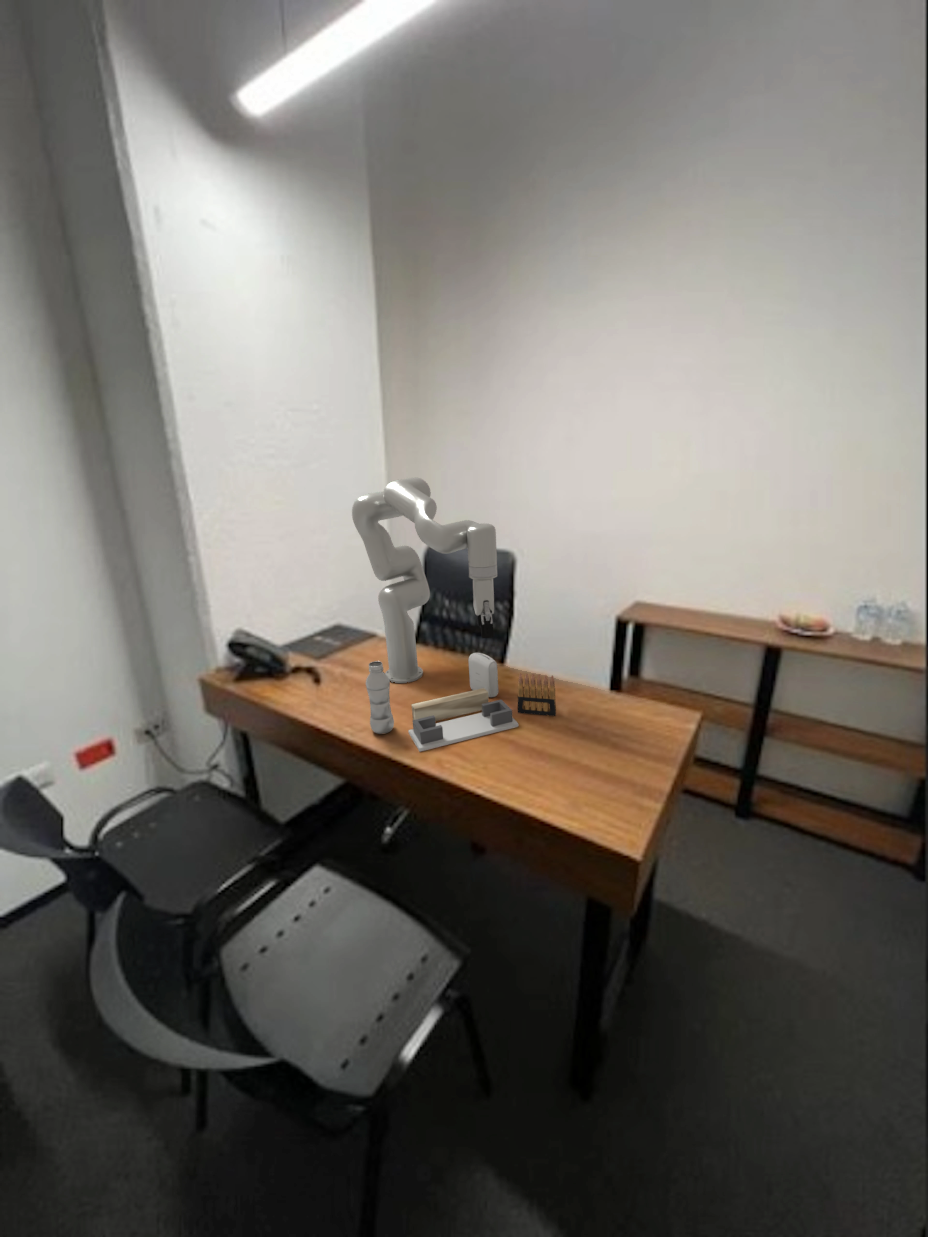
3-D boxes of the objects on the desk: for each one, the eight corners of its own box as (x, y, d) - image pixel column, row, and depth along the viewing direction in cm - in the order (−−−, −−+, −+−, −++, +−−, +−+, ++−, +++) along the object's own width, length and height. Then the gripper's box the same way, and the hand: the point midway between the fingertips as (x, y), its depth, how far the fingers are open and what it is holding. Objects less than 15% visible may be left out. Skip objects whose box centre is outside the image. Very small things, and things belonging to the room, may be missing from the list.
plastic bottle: (389, 722, 159) (382, 656, 153) (398, 732, 154) (391, 665, 147) (367, 729, 156) (359, 662, 150) (376, 739, 151) (368, 671, 144)
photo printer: (467, 688, 177) (465, 652, 173) (478, 684, 179) (476, 648, 175) (490, 699, 169) (488, 661, 165) (500, 694, 172) (499, 657, 168)
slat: (413, 721, 159) (411, 704, 158) (484, 704, 167) (483, 687, 165) (416, 726, 157) (414, 709, 155) (488, 709, 164) (488, 692, 162)
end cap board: (408, 733, 153) (407, 718, 152) (502, 710, 162) (502, 696, 161) (419, 751, 144) (418, 736, 143) (518, 726, 153) (518, 711, 152)
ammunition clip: (517, 712, 161) (516, 674, 157) (518, 709, 162) (517, 671, 158) (555, 716, 158) (555, 677, 154) (556, 713, 159) (556, 674, 155)
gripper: (466, 564, 159) (469, 621, 164) (471, 580, 142) (474, 643, 148) (493, 562, 159) (495, 620, 165) (501, 578, 143) (503, 641, 148)
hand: (485, 631), depth 156 cm, fingers open, 9 cm apart
